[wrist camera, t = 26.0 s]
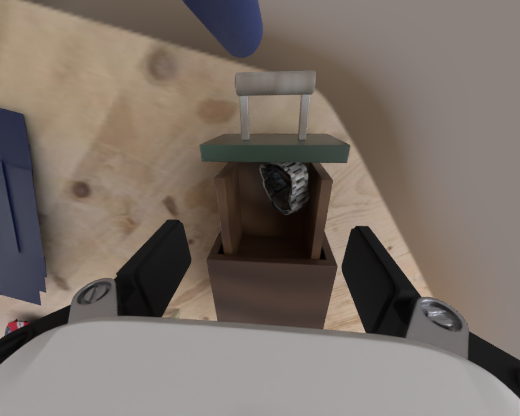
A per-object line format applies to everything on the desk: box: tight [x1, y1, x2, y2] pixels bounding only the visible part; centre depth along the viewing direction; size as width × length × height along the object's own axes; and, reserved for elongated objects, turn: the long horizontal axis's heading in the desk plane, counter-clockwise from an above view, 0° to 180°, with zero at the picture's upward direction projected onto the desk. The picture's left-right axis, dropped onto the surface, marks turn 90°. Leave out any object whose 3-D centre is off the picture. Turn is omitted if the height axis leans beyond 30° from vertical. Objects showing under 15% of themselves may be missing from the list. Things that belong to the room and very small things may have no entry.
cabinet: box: [207, 231, 337, 329], centre depth 24 cm, size 14×12×9 cm
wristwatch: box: [259, 162, 310, 215], centre depth 18 cm, size 3×5×5 cm
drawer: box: [200, 71, 350, 260], centre depth 18 cm, size 17×10×7 cm, turn 1°
